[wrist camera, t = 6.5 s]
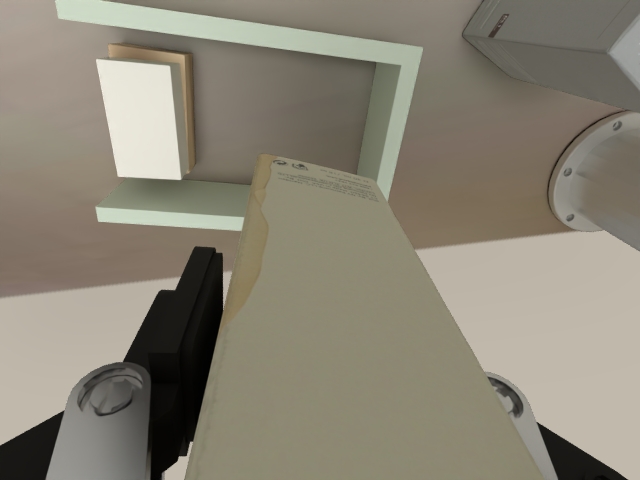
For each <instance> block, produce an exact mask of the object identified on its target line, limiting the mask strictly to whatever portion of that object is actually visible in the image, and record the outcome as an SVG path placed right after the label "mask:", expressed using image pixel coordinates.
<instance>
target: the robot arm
mask: <svg viewBox="0 0 640 480" xmlns="http://www.w3.org/2000/svg"><path fill="white" fill-rule="evenodd" d="M548 195H549V204H550V207H551V210H552V212H553V213H554V215H555V216H556V218H557V219H559V220H560V221H561V222H562V223H564V224H565V225H567V226H569V227H570V228H572V229H575V230H579V231H585V232H594V231H602V230H605V231H607V232H609V233H610V234H612V235H614V236H615V237H617V238H618V239H620V240H622V241H623V242H625V243H627V244H628V245H630V246H632V247H633V248H635V249H637V250H638V251H640V113H637V112H634V111H624V112H621V113H617V114H614V115H611V116H609V117H607V118H605V119H603V120H600V121H599V122H597V123H596V124H594V125H593V126H591V127H589V128H588V129H587V130H586V131H584V132H583V133H582V134H581V135H580V136H578V137H577V138H576V139H575V140H574V141H573V143H572V144H571V145H570V146H569V147H568V148H567V149H566V151H565V152H564V154H563V155H562V157H561V158H560V159H559V161H558V163H557V165H556V167H555V169H554V171H553V174H552V177H551V180H550V184H549V192H548ZM222 315H223V255H222V253H216V249H215V248H212V247H197V246H196V247H194V249H193V251H192V254H191V256H190V258H189V260H188V263H187V265H186V267H185V269H184V272H183V274H182V276H181V278H180V281H179V283H178V285H177V287H176V290H161V291H159V292H158V294H157V296H156V298H155V300H154V302H153V304H152V305H151V307H150V310H149V311H148V313H147V316H146V317H145V319H144V321H143V323H142V325H141V327H140V329H139V331H138V333H137V335H136V337H135V339H134V341H133V343H132V345H131V347H130V349H129V351H128V353H127V355H126V357H125V358H124V361H123V362H116V363H112V364H108V365H104V366H102V367H100V368H97V369H95V370H93V371H91V372H90V373H89V374H87V375H86V376H85V377H83V378H82V379H81V380H80V381H79V382H78V383H77V384H76V386H75V387H74V388H73V389H72V391H71V393H70V395H69V397H68V401H67V404H66V408H65V410H64V411H62V412H60V413H59V414H57V415H55V416H53V417H51V418H50V419H48V420H46V421H44V422H42V423H40V424H39V425H37V426H35V427H33V428H31V429H30V430H28V431H26V432H24V433H22V434H20V435H19V436H17V437H15V438H13V439H11V440H10V441H8V442H6V443H4V444H2V445H0V480H164V475H165V470H167V469H168V468H169V467H171V466H172V465H173V464H174V463H176V462H177V461H178V457H179V456H187V453H188V448H189V444H190V442H193V440H194V436H195V432H196V428H197V423H198V419H199V415H200V411H201V406H202V402H203V398H204V393H205V389H206V385H207V381H208V376H209V372H210V368H211V363H212V359H213V354H214V350H215V346H216V341H217V337H218V332H219V328H220V323H221V319H222ZM485 374H486V376H487V377H488V379H489V381H490V383H491V384H492V386H493V388H494V390H495V392H496V394H497V396H498V398H499V399H500V401H501V403H502V404H503V406H504V408H505V409H506V411H507V413H508V414H509V416H510V418H511V420H512V421H513V423H514V425H515V427H516V429H517V431H518V432H519V434H520V436H521V438H522V440H523V441H524V443H525V445H526V447H527V448H528V450H529V452H530V454H531V455H532V457H533V459H534V461H535V463H536V464H537V466H538V468H539V470H540V471H541V473H542V475H543V477H544V479H545V480H628V479H626V478H625V477H623V476H622V475H621V474H619V473H618V472H616V471H615V470H613V469H612V468H610V467H608V466H607V465H605V464H604V463H602V462H600V461H599V460H597V459H595V458H594V457H592V456H591V455H589V454H587V453H586V452H584V451H583V450H581V449H579V448H578V447H576V446H574V445H573V444H571V443H569V442H568V441H567V440H565V439H563V438H562V437H560V436H558V435H557V434H555V433H553V432H552V431H550V430H549V429H547V428H546V427H544V426H542V425H541V424H539V423H538V422H536V420H535V417H534V415H533V412H532V409H531V407H530V404H529V402H528V401H527V399H526V397H525V395H524V394H523V393H522V392H521V391H520V390H519V389H518V388H517V387H516V386H515V385H514V384H512V383H511V382H510V381H508V380H507V379H505V378H503V377H501V376H499V375H496V374H493V373H491V372H485Z"/></svg>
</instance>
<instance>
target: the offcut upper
mask: <svg viewBox="0 0 640 480" xmlns="http://www.w3.org/2000/svg"><path fill="white" fill-rule="evenodd" d="M96 62H97V67H98V73H99V78H100V83H101V89H102V94H103V99H104V105H105V110H106V115H107V120H108V126H109V131H110V136H111V142H112V147H113V152H114V158H115V163H116V168H117V174H118V177H135V178H153V179H172V180H182V178H183V177H184V175H185V174H186V172H187V171H188V169H189V161H188V149H187V138H186V126H185V115H184V103H183V92H182V81H181V69H180V63H173V62H162V61H152V60H141V59H130V58H120V57H108V58H100V59H96Z"/></svg>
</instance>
